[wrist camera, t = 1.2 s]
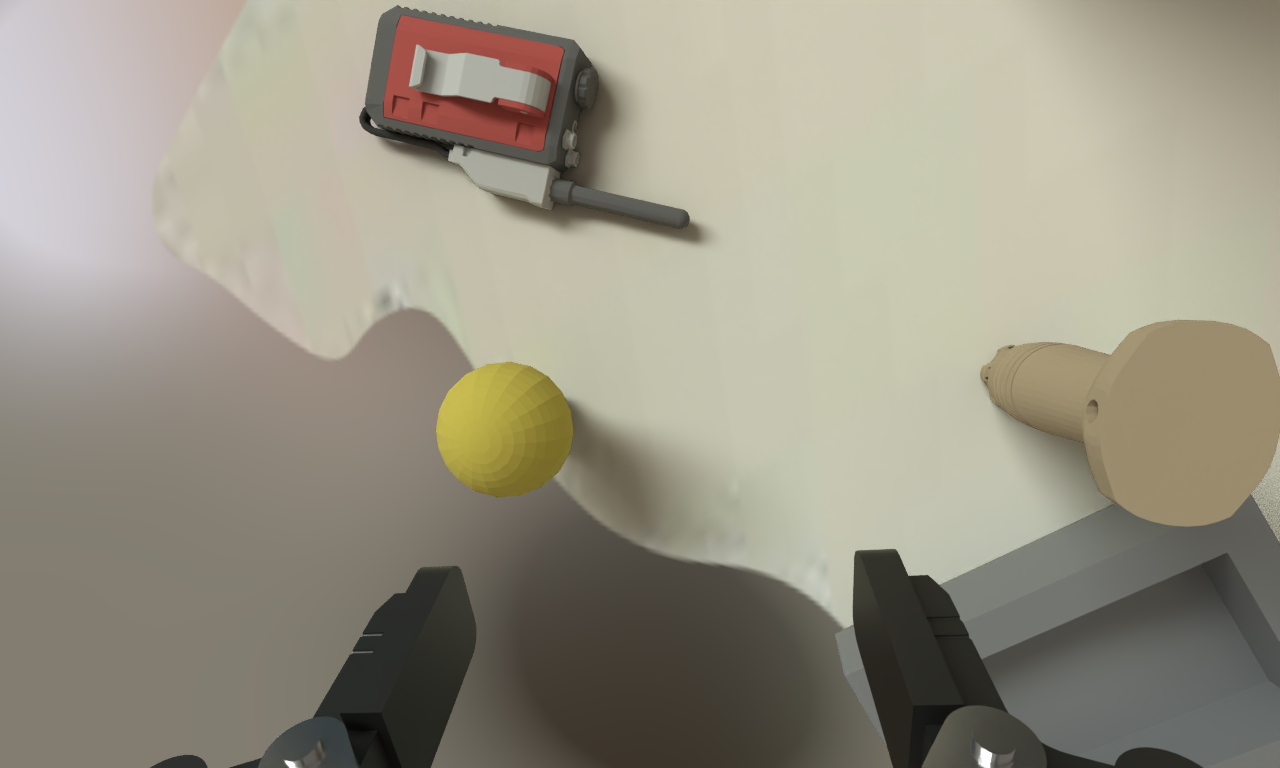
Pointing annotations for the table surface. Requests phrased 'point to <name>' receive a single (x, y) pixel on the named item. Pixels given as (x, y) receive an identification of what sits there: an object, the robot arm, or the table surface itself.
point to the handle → (1155, 413)
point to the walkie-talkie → (492, 106)
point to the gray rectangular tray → (1130, 637)
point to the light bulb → (504, 429)
